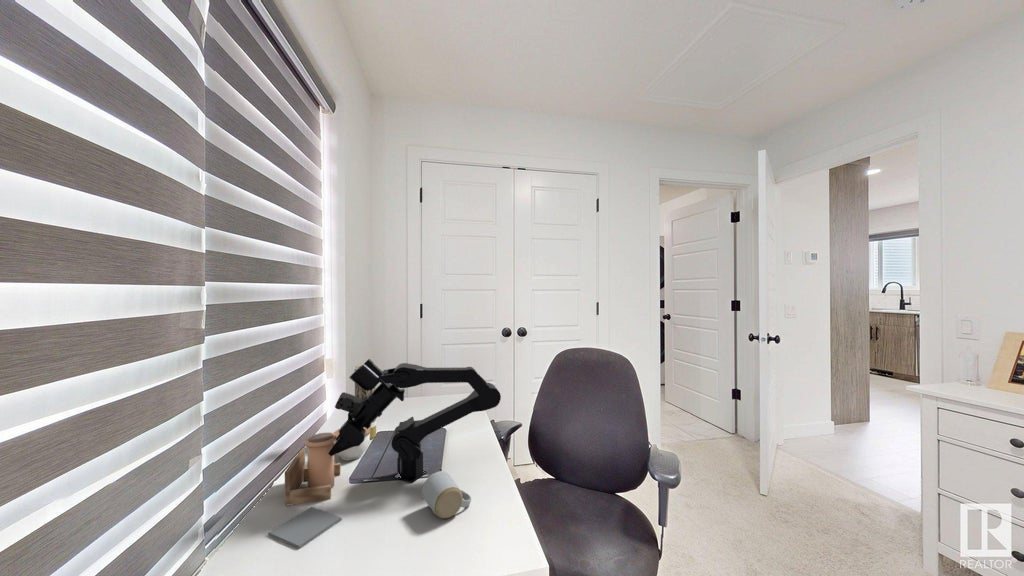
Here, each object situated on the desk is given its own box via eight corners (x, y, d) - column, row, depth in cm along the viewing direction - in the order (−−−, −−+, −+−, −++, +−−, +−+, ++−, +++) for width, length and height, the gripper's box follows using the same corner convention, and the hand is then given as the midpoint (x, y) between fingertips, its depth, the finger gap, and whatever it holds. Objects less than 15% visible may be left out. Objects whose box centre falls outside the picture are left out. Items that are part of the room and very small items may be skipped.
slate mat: (341, 520, 82) (341, 517, 82) (299, 548, 73) (299, 545, 73) (311, 509, 86) (311, 506, 86) (268, 535, 77) (268, 532, 77)
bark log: (371, 441, 125) (370, 368, 125) (351, 441, 125) (351, 368, 125) (379, 433, 131) (378, 364, 131) (360, 433, 131) (359, 364, 131)
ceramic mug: (435, 526, 80) (435, 490, 80) (421, 507, 87) (421, 475, 87) (477, 510, 86) (477, 477, 86) (462, 494, 93) (462, 463, 93)
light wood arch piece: (340, 473, 103) (340, 445, 103) (330, 498, 91) (330, 466, 91) (301, 478, 101) (300, 449, 101) (285, 505, 88) (284, 472, 88)
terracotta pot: (342, 483, 98) (342, 434, 98) (318, 497, 91) (317, 445, 91) (324, 478, 101) (323, 430, 101) (299, 491, 94) (298, 440, 94)
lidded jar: (361, 464, 109) (361, 432, 109) (326, 464, 109) (325, 432, 109) (375, 448, 119) (375, 419, 119) (343, 448, 120) (343, 419, 120)
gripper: (360, 374, 107) (318, 415, 104) (349, 392, 89) (298, 442, 86) (388, 399, 109) (348, 440, 106) (383, 421, 91) (335, 471, 88)
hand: (333, 447), depth 97 cm, fingers open, 9 cm apart
